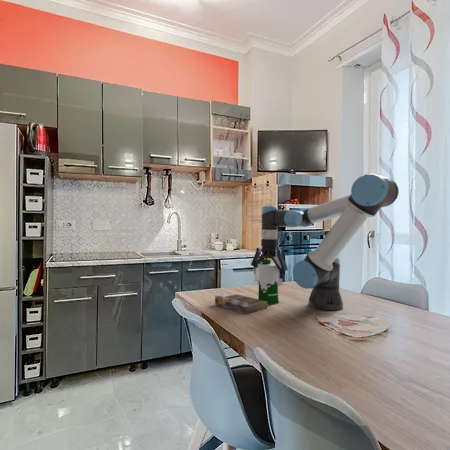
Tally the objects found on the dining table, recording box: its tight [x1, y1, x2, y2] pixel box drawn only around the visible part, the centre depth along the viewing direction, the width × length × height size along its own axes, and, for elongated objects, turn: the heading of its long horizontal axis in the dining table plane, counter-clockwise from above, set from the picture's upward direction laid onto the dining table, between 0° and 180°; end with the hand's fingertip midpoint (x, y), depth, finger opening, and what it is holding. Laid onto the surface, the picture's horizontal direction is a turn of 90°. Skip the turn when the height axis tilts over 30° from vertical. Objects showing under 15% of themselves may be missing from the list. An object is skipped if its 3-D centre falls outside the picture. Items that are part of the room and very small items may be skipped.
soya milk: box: [257, 258, 280, 305], centre depth 156 cm, size 9×9×20 cm
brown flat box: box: [214, 294, 268, 315], centre depth 147 cm, size 19×15×4 cm
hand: (268, 283), depth 156 cm, fingers open, 13 cm apart
